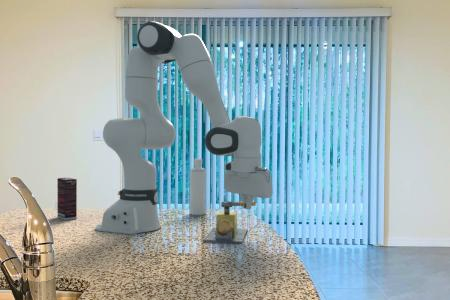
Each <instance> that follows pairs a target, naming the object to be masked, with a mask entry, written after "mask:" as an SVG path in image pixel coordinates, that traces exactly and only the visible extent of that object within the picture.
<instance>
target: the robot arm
mask: <svg viewBox="0 0 450 300" xmlns="http://www.w3.org/2000/svg"><path fill="white" fill-rule="evenodd" d="M136 35H137V36H136V40H137V45H138V46H135V47H132V48H131V49H130V50H129V52H128V55H127V60H126V65H125V82H124V86H125V87H124V88H125V89H124V97H125V100H126V103H127V104H128V105H130V106H131V107H133V108H134V109H136V110H138V112H139V114H140V117H139V118H137V117H135V118H134V117H131V118H130V117H120V118H113V119H109V120H108V121H107V122H106V123H105V124H104V126H103V129H102V130H103V131H102V138H103V140H104V143H105V144H106V146H108V147H109V148H110V149H111V150H113V151H114V152H115V153H116V155H117V156H118V158H119V159H120V162H121V163H122V167H123V175H124V176H123V178H124V180H123V181H124V188H122V189H121V190H119V191H117V196H119V199H118V200H117V201H115V202H114V203H113V204H112V205H110V206H109V207H107V208H106V209H105V210H104V212H103V215H102V221H101V222H100V223H98V224H97V225H95V231H97V232H98V231H100V232H107V233H116V234H117V233H118V234H127V235H132V234H138V233H139V234H140V233H145V232H153V231H157V230H159V229H160V228H161V227H162V226H161V221H160V219H159V213H158V200H159V191H158V188H157V168H156V165H155V164H154V163H153V162H151V161H150V160H148V159H146V158H144V157H143V156H142V152H141V150H161V149H165V148H170V147H172V145H173V144H174V142H175V139H176V136H177V133H176V128H175V126H174V124H173V122H171V121H170V120H169V119H168V118H167V117H166V116H165V115H164V113H163V111H162V109H161V107H160V104H159V95H158V94H159V93H158V86H159V85H158V82H159V81H158V79H159V77H158V75H159V73H158V72H159V71H158V70H159V68H160V67H159V66H160V64H164V65H166V64H169V63H172V62H176V63H177V66H178V69H179V72H180V75H181V78H182V80H183V82H184V84H185V86H186V88H187V90H188V91H189V93H191V94H192V95H193V96H195V97H196V98H197V99H198V100H199V101H200V102H201V103H202V105H204V108H205V109H206V112H207V115H208V118H209V119H210V122H211V125H212V127H211V129H209V130H208V132H207V133H206V135H205V137H204V144H205V147H206V149H207V151H208V152H209V153H210V154H213V155H215V156H220V157H223V156H225V157H231V156H233V160H231V161H230V162H229V161H228V162H227V163H225V164H224V167H223V169H224V171H225V173H224V175H223V176H224V177H223V178H224V179H223V183H224V184H223V186H224V187H223V188H224V190H225V192H227V193H233V194H239V195H240V200H241V202H243V206H242V207H243V209H244V210H251V209H252V206H251V203H252V202H253V201H254V199H255V198H260V199H270V198H271V197H272V196H273V181H272V177H271V176H272V175H271V172H270V170H269V169H268V168H267V167H262V154H261V147H262V127H261V122H260V121H259V120H258V119H256V118H255V117H250V116H244V115H239V116H236V117H235V118H233V119H232V120H230V117H229V116H228V115H229V114H228V111H227V110H226V106H225V104H224V101H223V99H222V95H221V93H220V88H219V84H218V79H217V75H216V71H215V67H214V63H213V61H212V58H211V56H210V53H209V51H208V49H207V47H206V44H205V43H204V41H203V40H202V38H201V37H200V36H199V35H197V34H195V33H187V34H184V35H183V34H182V33H181V32H180V31H178V30H177V29H175V28H173V27H171V26H169V25H165V24H163V23H161V22H158V21H148V22H147V21H146V22H145V23H143V24H141V26H140V27H139V29H138V31H137V34H136Z"/></svg>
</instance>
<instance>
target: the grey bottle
mask: <svg viewBox="0 0 450 300" xmlns="http://www.w3.org/2000/svg"><path fill="white" fill-rule="evenodd" d="M193 164H194V167H192V168H191V169H190V170H189V171H190V173H189V175H190V176H189V214H190V215H191V214H192V216H204V215H206V214H207V212H206V211H207V210H206V209H207V201H206V200H207V169H205V168H204V167H203V166H202V165H203V158H193Z"/></svg>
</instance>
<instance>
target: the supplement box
mask: <svg viewBox="0 0 450 300" xmlns="http://www.w3.org/2000/svg"><path fill="white" fill-rule="evenodd" d="M56 180H57V186H56V187H57V218H58V219H61V220H63V221H72V220H77V218H78V217H77V211H78V210H77V203H78V202H77V201H78V199H77V195H78V193H77V192H78V191H77V190H78V189H77V185H78V183H77V181H78V180H77V178H71V177H58V178H57V179H56Z"/></svg>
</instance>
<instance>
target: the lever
mask: <svg viewBox="0 0 450 300" xmlns="http://www.w3.org/2000/svg"><path fill="white" fill-rule="evenodd" d="M256 203H257V202H256V201H254V200H253V202H252V203H251V207H255V206H256V205H257V204H256ZM220 205H221V208H224V207H230V208H233V207H243V202H242V201H230V200H229V201H228V200H226V201H224V200H223V201H221V204H220Z"/></svg>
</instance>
